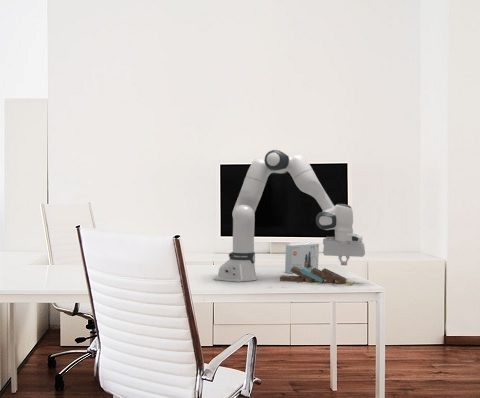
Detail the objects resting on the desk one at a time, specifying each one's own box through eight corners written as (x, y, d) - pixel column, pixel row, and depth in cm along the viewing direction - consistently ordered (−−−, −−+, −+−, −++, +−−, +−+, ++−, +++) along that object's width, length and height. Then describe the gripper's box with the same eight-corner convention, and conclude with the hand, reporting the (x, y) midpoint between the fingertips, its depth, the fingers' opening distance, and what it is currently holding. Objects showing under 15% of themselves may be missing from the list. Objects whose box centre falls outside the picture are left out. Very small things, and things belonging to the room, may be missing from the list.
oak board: (296, 284, 315) (296, 282, 315) (302, 280, 326) (302, 279, 326) (351, 287, 306) (351, 285, 306) (355, 283, 317) (355, 281, 317)
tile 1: (342, 284, 310) (320, 273, 314) (345, 282, 316) (323, 271, 319) (344, 280, 310) (322, 269, 313) (346, 278, 315) (324, 268, 319)
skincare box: (291, 274, 351) (291, 245, 351) (284, 272, 356) (284, 244, 355) (319, 270, 364) (319, 243, 364) (312, 269, 368) (312, 242, 368)
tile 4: (311, 282, 315) (290, 271, 319) (314, 280, 321) (293, 269, 325) (313, 278, 315) (291, 267, 319) (315, 277, 321) (294, 266, 324)
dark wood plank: (303, 282, 317) (279, 280, 321) (305, 280, 322) (282, 279, 326) (303, 278, 317) (279, 276, 321) (305, 276, 322) (282, 275, 326)
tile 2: (332, 283, 312) (310, 272, 316) (334, 281, 317) (313, 271, 321) (333, 279, 312) (311, 269, 315) (336, 278, 317) (314, 267, 321)
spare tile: (325, 277, 319) (304, 266, 323) (323, 279, 313) (301, 268, 317) (324, 281, 319) (302, 270, 323) (321, 282, 314) (299, 272, 317)
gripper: (321, 237, 313) (321, 265, 313) (363, 238, 306) (363, 266, 306) (324, 236, 319) (324, 263, 319) (365, 237, 312) (365, 265, 312)
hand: (343, 265), depth 313 cm, fingers closed
